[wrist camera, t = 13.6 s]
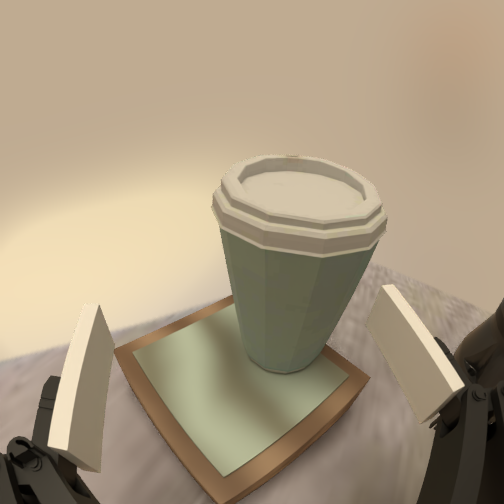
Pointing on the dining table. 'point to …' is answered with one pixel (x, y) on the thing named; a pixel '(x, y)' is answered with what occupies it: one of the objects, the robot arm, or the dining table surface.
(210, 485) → the walnut stand
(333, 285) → the disposable coffee cup
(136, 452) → the dining table surface
